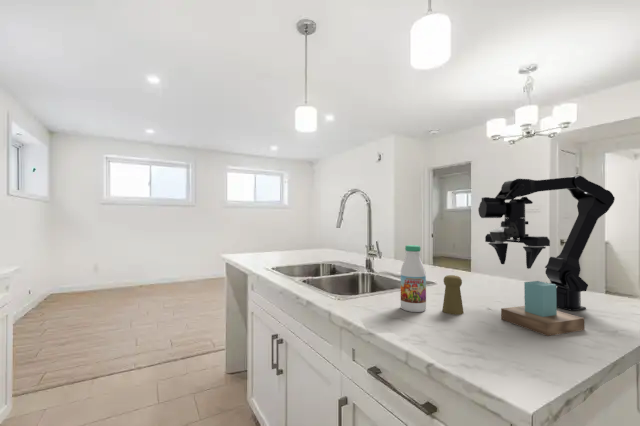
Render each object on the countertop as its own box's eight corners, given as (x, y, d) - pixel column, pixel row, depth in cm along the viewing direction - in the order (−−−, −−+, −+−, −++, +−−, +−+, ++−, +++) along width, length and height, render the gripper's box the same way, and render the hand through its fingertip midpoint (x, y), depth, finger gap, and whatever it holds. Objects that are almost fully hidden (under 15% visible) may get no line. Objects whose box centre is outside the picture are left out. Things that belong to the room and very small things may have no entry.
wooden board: (535, 314, 91) (535, 304, 91) (584, 330, 78) (584, 318, 78) (501, 319, 87) (501, 308, 87) (547, 336, 74) (547, 323, 75)
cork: (466, 315, 90) (465, 277, 91) (444, 314, 92) (444, 277, 92) (460, 309, 96) (460, 274, 96) (440, 308, 98) (440, 273, 98)
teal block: (538, 309, 86) (537, 280, 86) (556, 315, 81) (556, 284, 81) (524, 311, 84) (524, 282, 84) (542, 316, 80) (542, 286, 80)
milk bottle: (397, 305, 100) (396, 244, 100) (420, 305, 101) (419, 244, 101) (405, 313, 92) (405, 246, 93) (430, 312, 93) (430, 246, 93)
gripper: (472, 218, 106) (472, 263, 106) (522, 218, 88) (523, 272, 88) (497, 218, 109) (497, 261, 109) (550, 218, 91) (551, 270, 91)
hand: (515, 266), depth 99 cm, fingers open, 9 cm apart
